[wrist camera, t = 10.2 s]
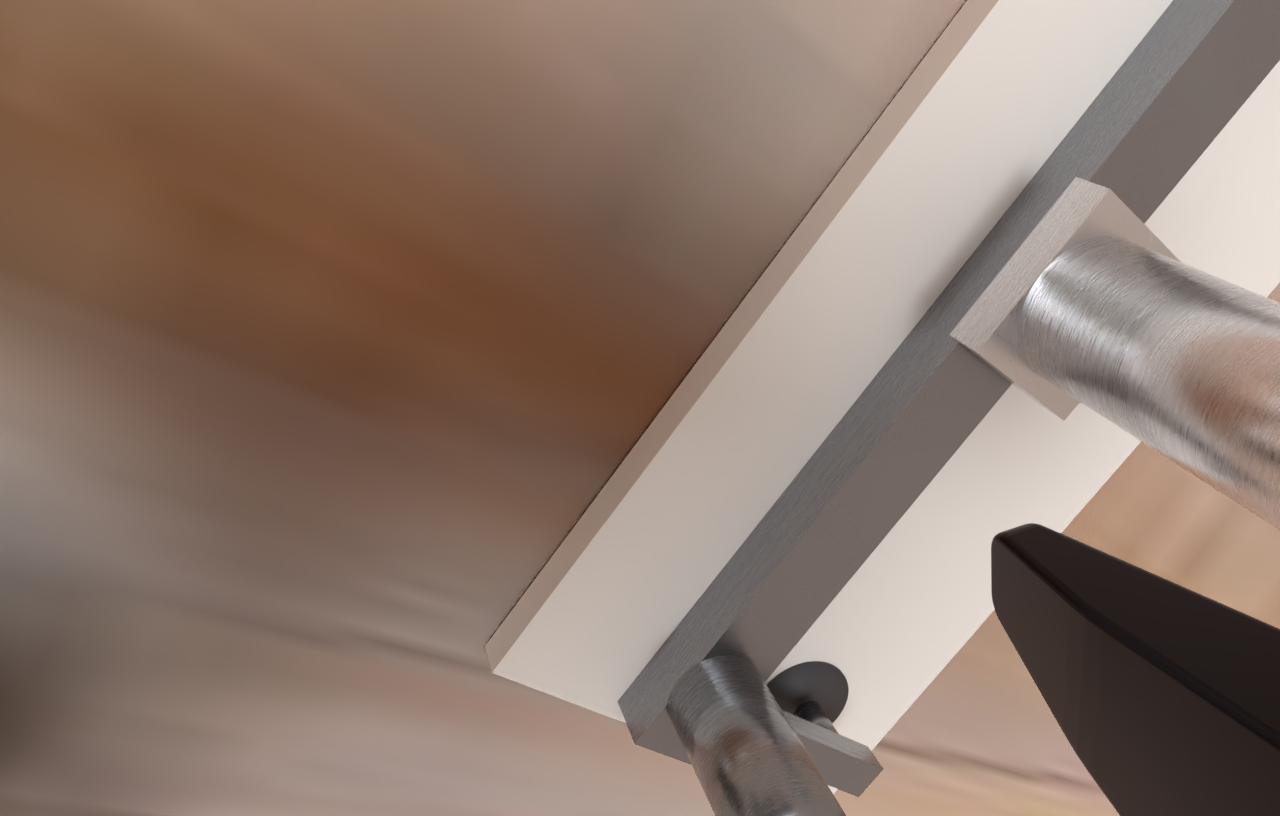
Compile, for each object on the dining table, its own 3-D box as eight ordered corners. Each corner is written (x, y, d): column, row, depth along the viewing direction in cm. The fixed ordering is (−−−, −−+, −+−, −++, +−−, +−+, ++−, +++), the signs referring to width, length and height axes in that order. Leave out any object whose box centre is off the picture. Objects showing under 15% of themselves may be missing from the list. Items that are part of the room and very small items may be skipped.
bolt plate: (813, 774, 31) (830, 801, 30) (484, 646, 25) (492, 676, 24) (1449, 35, 26) (1493, 41, 25) (1224, -345, 20) (1271, -357, 19)
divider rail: (781, 764, 28) (888, 954, 23) (611, 698, 25) (693, 900, 20) (1436, -7, 24) (1755, 20, 18) (1323, -202, 21) (1667, -234, 15)
